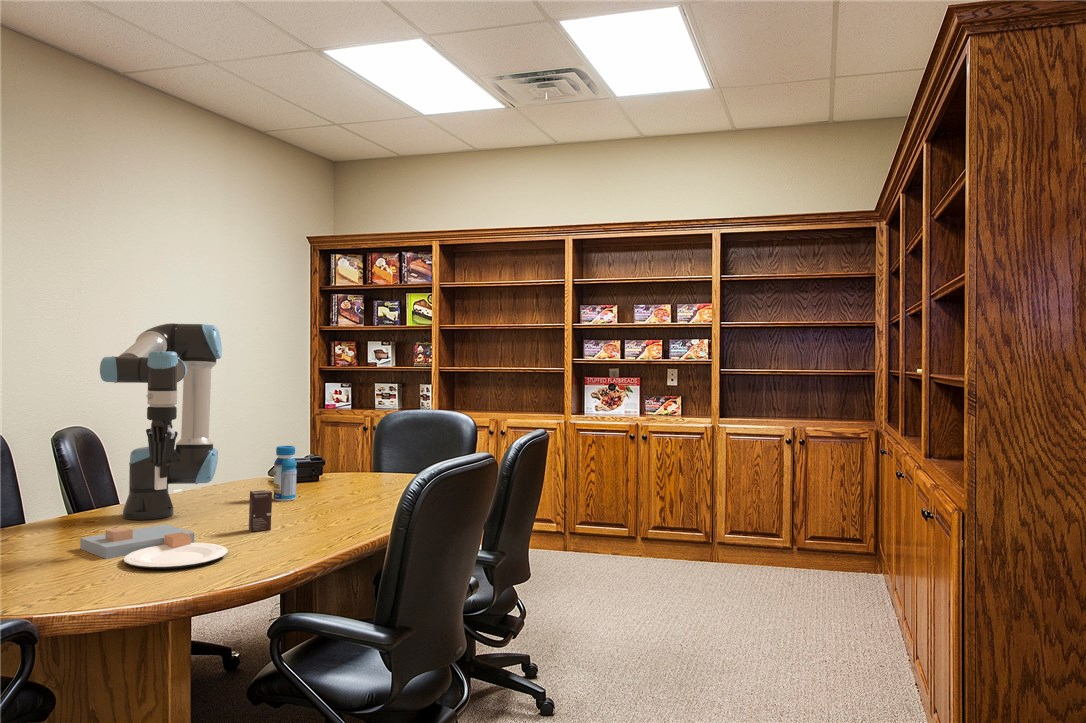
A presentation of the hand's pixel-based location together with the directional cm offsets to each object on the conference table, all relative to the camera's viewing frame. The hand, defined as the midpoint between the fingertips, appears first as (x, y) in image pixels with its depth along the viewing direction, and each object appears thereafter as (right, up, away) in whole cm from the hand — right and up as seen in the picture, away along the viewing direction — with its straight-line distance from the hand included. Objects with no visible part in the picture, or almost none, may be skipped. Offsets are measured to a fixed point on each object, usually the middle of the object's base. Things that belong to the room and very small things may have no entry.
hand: (160, 488), depth 219 cm
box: (+20, -17, +22) cm, 34 cm away
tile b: (-9, -13, -5) cm, 17 cm away
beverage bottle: (+10, -16, +74) cm, 76 cm away
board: (-6, -16, -1) cm, 17 cm away
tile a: (+7, -15, -4) cm, 17 cm away
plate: (+11, -17, -14) cm, 25 cm away
